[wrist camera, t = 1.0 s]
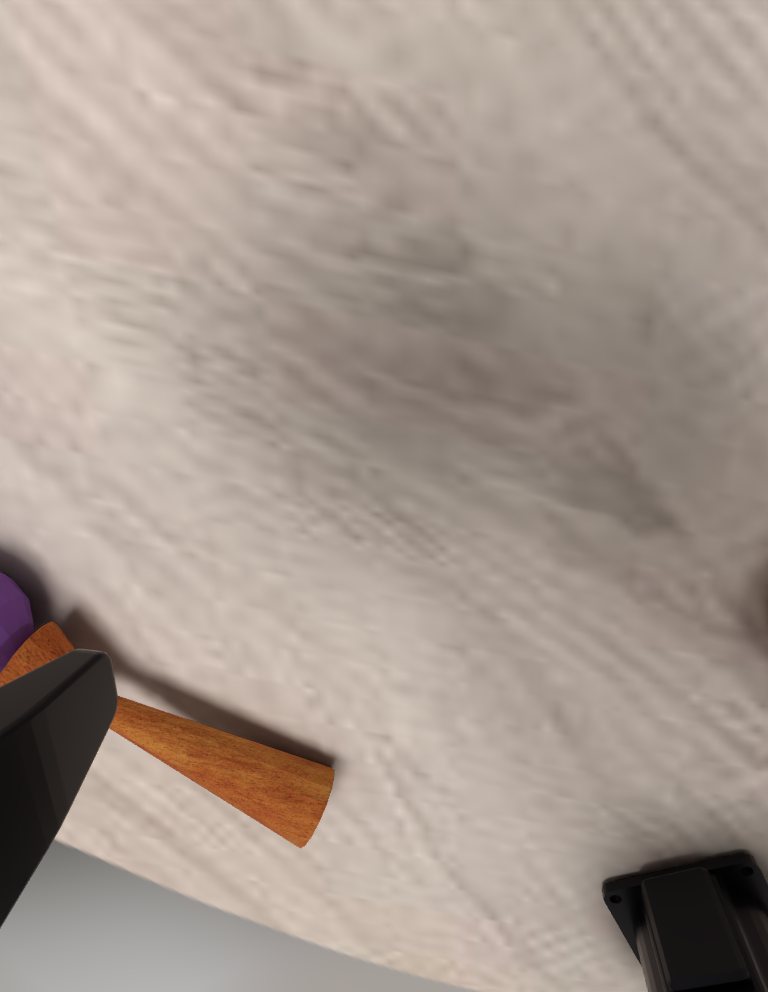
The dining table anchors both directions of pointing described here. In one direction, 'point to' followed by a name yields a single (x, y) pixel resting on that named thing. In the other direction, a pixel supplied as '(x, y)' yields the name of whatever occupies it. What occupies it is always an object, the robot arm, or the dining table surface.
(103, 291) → the dining table surface
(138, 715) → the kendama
